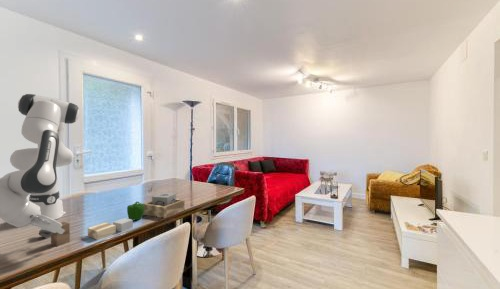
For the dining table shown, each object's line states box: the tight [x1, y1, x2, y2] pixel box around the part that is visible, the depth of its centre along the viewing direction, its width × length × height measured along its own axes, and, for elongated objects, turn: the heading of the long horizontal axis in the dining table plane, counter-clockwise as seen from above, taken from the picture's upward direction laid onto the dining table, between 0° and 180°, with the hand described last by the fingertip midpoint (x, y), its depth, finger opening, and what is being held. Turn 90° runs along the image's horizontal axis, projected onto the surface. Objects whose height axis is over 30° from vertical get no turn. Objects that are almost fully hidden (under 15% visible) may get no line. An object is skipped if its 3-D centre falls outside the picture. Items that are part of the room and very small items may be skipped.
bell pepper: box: [126, 201, 144, 221], centre depth 123 cm, size 8×8×10 cm
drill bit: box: [38, 229, 51, 240], centre depth 101 cm, size 5×5×10 cm
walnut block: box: [50, 221, 71, 247], centre depth 95 cm, size 4×4×8 cm
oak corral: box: [141, 198, 186, 219], centre depth 136 cm, size 17×17×6 cm
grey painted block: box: [112, 217, 134, 233], centre depth 111 cm, size 6×6×4 cm
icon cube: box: [151, 192, 177, 206], centre depth 137 cm, size 10×10×10 cm
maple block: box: [87, 222, 117, 241], centre depth 103 cm, size 8×8×4 cm
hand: (55, 230), depth 93 cm, fingers open, 8 cm apart
